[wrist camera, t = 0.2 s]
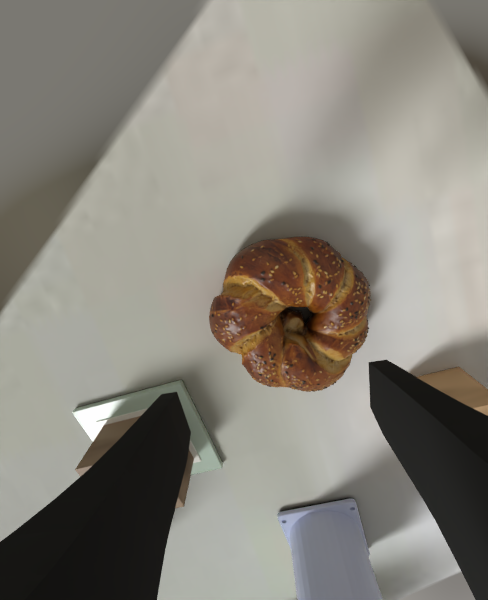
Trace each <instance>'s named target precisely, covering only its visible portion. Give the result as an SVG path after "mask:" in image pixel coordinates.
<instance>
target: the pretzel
mask: <svg viewBox="0 0 488 600" xmlns="http://www.w3.org/2000/svg"><path fill="white" fill-rule="evenodd" d="M369 286H370V285H369V283H368V281H367V279H366V278H365V277H364V276H363V273H362V272H360V271H359V270H358V269H357V268H356V267H355V266H353V265H352V263H350V262H348V261H347V260H345V259H344V258H342V257H341V255H340V253H339V252H338V251H336V250H335V249H334V248H333V247H332V246H330V244H329V243H328V242H324V241H323V240H319V239H316V238H311V237H291V238H286V239H273V240H263V241H260V242H257V243H255V244H252V245H250V246H248V247H246V248H244V249H243V250H241V251H240V252H239V253H238V254H237V255H235V256H234V258H233V259H232V260H231V262H230V264H229V266H228V268H227V271H226V275H225V280H224V283H223V288H224V289H223V293H222V294H221V295H219V296H217V297H215V298H214V300H213V302H212V305H211V309H210V316H209V320H210V327H211V331H212V333H213V335H214V337H215V338H216V339H217V341H218V342H219V343H220V344H221V345H223V346H224V347H225V348H226V349H228V350H229V351H230V352H236V353H238V354H242V364H243V366H244V367H245V368H246V369H247V371H248V373H249V374H250V375H251V376H252V378H253V379H254V380H256V381H257V382H259V383H262V384H263V385H267V386H270V387H290V388H292V389H297V390H301V391H309V392H310V391H317V390H318V391H319V390H323V389H325V388H327V387H329V386H330V385H334V383H336V381H337V380H339V379H340V378H341V377H342V376H343V374H344V372H345V370H346V369H347V368H348V367H349V365H350V361H351V358H352V354H353V353H355V352H357V350H358V349H359V348H360V347H361V346H362V345H363V343H364V342H365V338H366V337H367V333H368V329H369V328H368V320H367V317H366V315H367V312H368V308H369V305H370V301H371V299H370V296H371V295H370V288H369ZM289 306H294V307H308V308H309V311H311V312H312V314H311V316H310V317H309V319H308V321H307V323H306V324H305V322H304V319H303V317H302V314H301V313H302V312H301V311H300V312H299V311H297V312H296V311H292V310H288V309H286V308H287V307H289Z"/></svg>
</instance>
